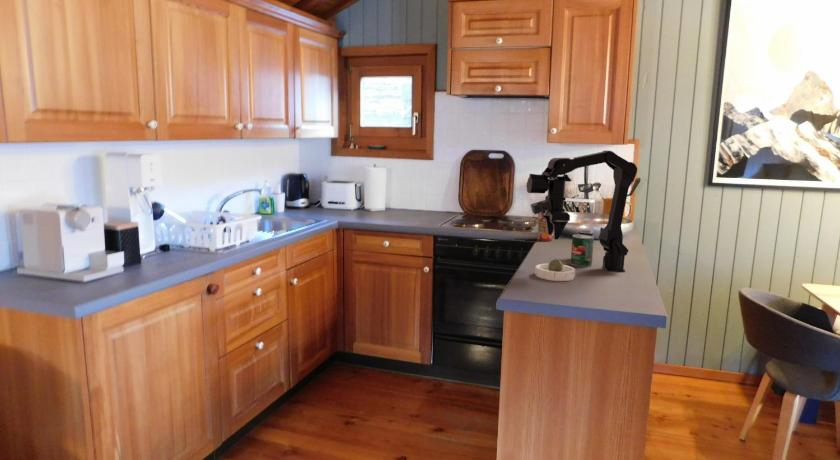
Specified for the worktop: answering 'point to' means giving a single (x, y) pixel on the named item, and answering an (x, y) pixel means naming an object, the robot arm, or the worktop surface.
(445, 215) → the worktop surface
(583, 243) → the canned tomato
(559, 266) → the lime
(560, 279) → the ceramic dish
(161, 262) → the worktop surface
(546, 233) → the smoothie
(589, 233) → the beverage can
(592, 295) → the worktop surface
